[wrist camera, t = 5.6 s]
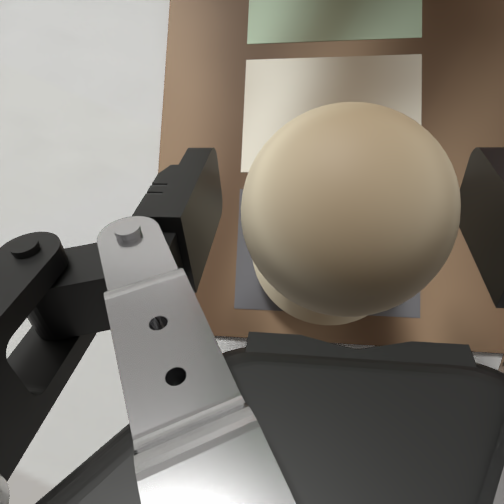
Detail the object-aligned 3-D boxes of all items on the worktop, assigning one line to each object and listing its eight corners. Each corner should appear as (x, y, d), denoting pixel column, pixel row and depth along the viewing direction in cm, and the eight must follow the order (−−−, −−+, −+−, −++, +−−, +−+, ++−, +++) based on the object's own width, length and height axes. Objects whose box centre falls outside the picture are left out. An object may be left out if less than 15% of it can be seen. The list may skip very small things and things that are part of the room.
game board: (152, 330, 17) (147, 331, 16) (185, -155, 19) (181, -170, 18) (698, 363, 14) (716, 366, 14) (665, -207, 16) (679, -226, 16)
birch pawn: (251, 319, 16) (167, 360, 6) (257, 179, 16) (189, 19, 7) (400, 327, 15) (564, 388, 5) (402, 180, 16) (554, 2, 6)
